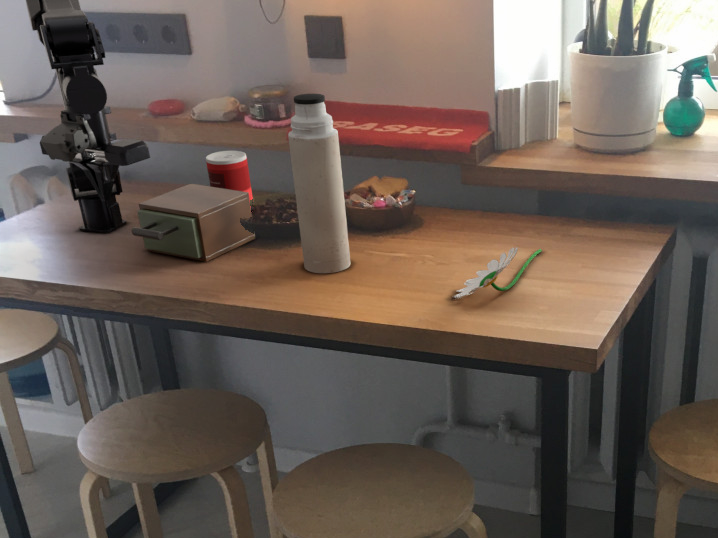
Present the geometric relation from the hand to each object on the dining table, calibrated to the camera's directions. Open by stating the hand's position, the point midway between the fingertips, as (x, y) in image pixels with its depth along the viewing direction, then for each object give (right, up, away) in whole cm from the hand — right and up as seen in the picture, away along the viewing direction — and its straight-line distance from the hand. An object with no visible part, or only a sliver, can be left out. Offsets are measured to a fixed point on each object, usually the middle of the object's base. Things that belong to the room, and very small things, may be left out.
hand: (105, 200), depth 169 cm
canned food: (+13, +7, +33) cm, 36 cm away
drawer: (+9, -5, +13) cm, 17 cm away
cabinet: (+11, -3, +17) cm, 20 cm away
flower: (+68, -14, -1) cm, 69 cm away
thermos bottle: (+36, -10, +7) cm, 38 cm away
